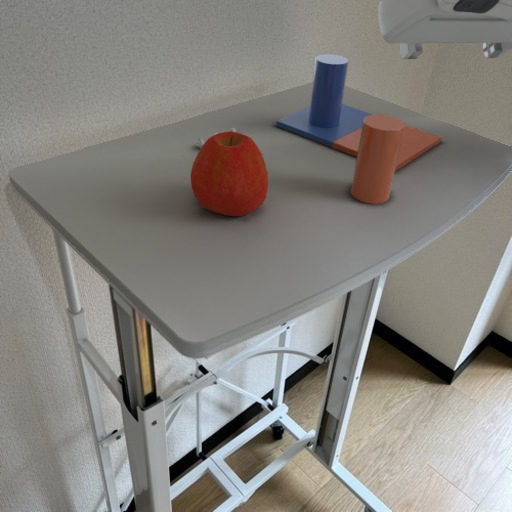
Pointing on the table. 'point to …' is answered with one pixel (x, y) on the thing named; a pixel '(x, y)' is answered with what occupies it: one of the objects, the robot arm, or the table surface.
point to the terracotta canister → (377, 158)
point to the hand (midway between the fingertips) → (448, 52)
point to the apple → (229, 175)
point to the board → (356, 134)
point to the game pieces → (200, 142)
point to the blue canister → (327, 90)
